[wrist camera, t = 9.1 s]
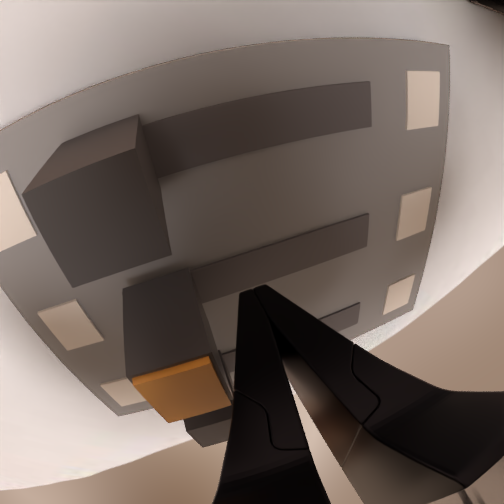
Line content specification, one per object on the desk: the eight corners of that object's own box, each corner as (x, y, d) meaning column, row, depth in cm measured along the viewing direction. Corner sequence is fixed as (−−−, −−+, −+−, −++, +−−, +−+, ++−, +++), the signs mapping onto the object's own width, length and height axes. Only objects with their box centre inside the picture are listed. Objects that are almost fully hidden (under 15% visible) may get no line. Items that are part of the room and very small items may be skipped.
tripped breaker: (188, 267, 9) (213, 359, 6) (208, 321, 10) (236, 405, 8) (122, 288, 9) (126, 384, 6) (152, 339, 10) (166, 425, 8)
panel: (425, 41, 8) (521, 63, 5) (400, 295, 16) (445, 348, 13) (-44, 157, 6) (-120, 230, 3) (116, 396, 14) (125, 471, 11)
